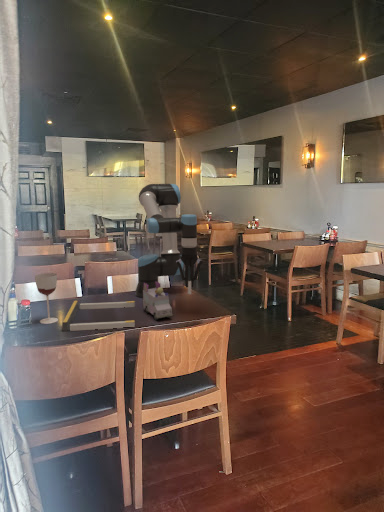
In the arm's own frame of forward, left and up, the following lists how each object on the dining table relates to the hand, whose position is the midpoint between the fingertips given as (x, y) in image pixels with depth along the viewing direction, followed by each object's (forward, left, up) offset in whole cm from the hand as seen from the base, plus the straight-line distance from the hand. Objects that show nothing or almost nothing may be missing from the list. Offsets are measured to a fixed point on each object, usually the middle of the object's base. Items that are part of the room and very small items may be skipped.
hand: (189, 293), depth 186 cm
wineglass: (+67, +1, -11) cm, 68 cm away
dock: (+43, 0, -10) cm, 44 cm away
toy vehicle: (+16, 0, -11) cm, 19 cm away
